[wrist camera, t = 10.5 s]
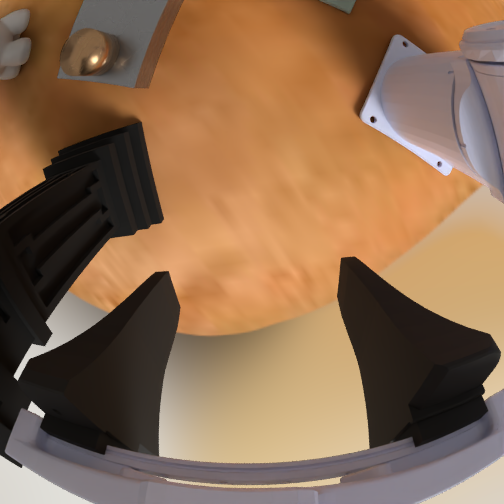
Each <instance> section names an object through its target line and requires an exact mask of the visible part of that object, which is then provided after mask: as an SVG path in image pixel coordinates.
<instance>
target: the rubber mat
mask: <svg viewBox="0 0 504 504" xmlns="http://www.w3.org/2000/svg"><path fill="white" fill-rule="evenodd" d="M319 1H322V2H324V3H326V4H329V5H331V6H333V7H335V8H338V9H340V10H342V11H344V12H346V13H348V14H349V13H350V12H351V10H352V8H353V6H354V4H355V1H356V0H319Z"/></svg>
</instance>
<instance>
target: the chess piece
mask: <svg viewBox="0 0 504 504" xmlns="http://www.w3.org/2000/svg"><path fill="white" fill-rule="evenodd" d="M58 153H59V156H57V157H55V158H53V159H51V162H52V165H50V166H48V167H46V168H44V169H43V171H44V175H45V178H46V180H45V181H43V182H42V183H40V184H38V185H36V186H35V187H33V188H32V189H30V190H28V191H27V192H25V193H24V194H22V195H21V196H19V197H17V198H16V199H14V200H13V201H11V202H10V203H9V204H7V205H6V206H4V207H3V208H1V209H0V455H1V456H3V457H4V458H6V459H7V460H9V461H10V462H12V463H14V464H15V465H17V466H19V467H20V468H22V464H21V463H19V462H18V461H16V460H15V459H13V458H12V457H10V456H9V455H8V454H6V453H5V449H6V446H7V443H8V440H9V438H10V435H11V432H12V430H13V427H14V425H15V422H16V420H17V417H18V415H19V413H20V410H21V408H24V409H26V410H28V407H29V405H30V403H31V400H30V399H29V398H28V397H27V396H26V395H25V394H24V393H23V391H22V390H21V389H20V387H19V384H18V381H17V380H16V379H15V378H14V377H13V376H14V374H15V372H16V370H17V368H18V367H19V365H20V363H21V361H22V360H23V358H24V356H25V354H26V353H27V351H28V349H29V348H30V346H31V344H36V345H41V346H45V345H46V343H47V341H48V340H49V338H50V337H51V335H52V332H51V330H50V329H49V327H48V326H47V325H46V323H45V322H46V321H47V319H48V318H49V316H50V315H51V313H52V312H53V311H54V309H55V307H56V306H57V305H58V303H59V302H60V301H61V299H62V298H63V296H64V295H65V294H66V292H67V291H68V290H69V288H70V287H71V286H72V284H73V283H74V282H75V280H76V279H77V278H78V276H79V275H80V274H81V273H82V271H83V270H84V269H85V267H86V266H87V265H88V264H89V263H90V261H91V260H92V259H93V258H94V256H95V255H96V254H97V253H98V252H99V250H100V249H101V248H102V247H103V246H104V244H105V243H106V242H107V241H108V240H109V239H110V238H115V237H122V236H129V235H134V234H135V233H136V231H137V230H142V229H148V228H149V227H150V225H152V224H159V223H162V221H163V220H164V217H163V213H162V209H161V206H160V202H159V198H158V194H157V190H156V186H155V182H154V178H153V174H152V169H151V165H150V160H149V156H148V151H147V147H146V142H145V137H144V132H143V127H142V122H140V123H136V124H133V125H129V126H126V127H123V128H120V129H116V130H113V131H110V132H107V133H104V134H101V135H98V136H95V137H93V138H90V139H87V140H85V141H82V142H79V143H77V144H74V145H72V146H69V147H67V148H64V149H62V150H60V151H58Z"/></svg>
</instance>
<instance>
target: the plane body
mask: <svg viewBox="0 0 504 504" xmlns="http://www.w3.org/2000/svg"><path fill="white" fill-rule="evenodd" d="M183 1H184V0H84V1H83V4H82V6H81V8H80V10H79V13H78V15H77V18H76V20H75V23H74V25H73V28H72V31H71V34H70V36H69V39H68V40H67V41H66V43H65V44H64V46H63V48H62V51H61V55H60V69H59V73H58V77H57V78H61V79H73V80H83V81H92V82H99V83H106V84H113V85H119V86H125V87H131V88H149V85H150V82H151V79H152V76H153V73H154V70H155V67H156V65H157V62H158V59H159V56H160V54H161V51H162V48H163V46H164V43H165V41H166V38H167V36H168V34H169V31H170V29H171V26H172V24H173V22H174V20H175V17H176V15H177V13H178V11H179V9H180V7H181V5H182V3H183Z"/></svg>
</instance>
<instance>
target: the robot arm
mask: <svg viewBox="0 0 504 504" xmlns="http://www.w3.org/2000/svg"><path fill="white" fill-rule="evenodd" d="M403 42H404V43H405V44H406V47H404V46H403ZM459 46H460V49H461V50H460V51H447V52H438V53H429V54H426V53H425V52H424V51H422V50H421V49H420V48H418V47H417V46H416V45H414V44H413V43H411V42H410V41H409V40H407V39H406V38H404V37H403V36H401V35H394V36H393V37H392V40H391V42H390V44H389V47H388V49H387V52H386V54H385V57H384V59H383V61H382V64H381V66H380V68H379V71H378V73H377V75H376V78H375V80H374V82H373V85H372V87H371V89H370V91H369V94H368V96H367V98H366V100H365V103H364V105H363V107H362V109H361V112H360V115H359V116H360V119H361V120H362V121H363V122H364V123H366V124H368V125H370V126H371V127H373V128H375V129H377V130H378V131H380V132H382V133H383V134H385V135H387V136H388V137H390V138H391V139H393V140H395V141H396V142H398V143H399V144H401V145H402V146H404V147H405V148H407V149H409V150H410V151H411V152H413V153H414V154H416V155H417V156H419V157H420V158H422V159H423V160H424V161H426V162H427V163H429V164H430V165H431V166H433V167H434V168H435V169H437V170H438V171H439V172H441V173H442V174H443V175H445V176H447V175H449V174H450V172H451V170H452V168H453V167H454V168H456V169H457V170H459V171H461V172H463V173H465V174H466V175H468V176H470V177H472V178H473V179H475V180H477V181H478V182H480V183H482V184H483V185H485V186H487V187H488V188H490V191H491V195H492V196H494V197H495V198H497V199H498V200H499V201H501V202H502V203H504V20H502V21H495V22H490V23H485V24H481V25H477V26H473V27H470V28H468V29H466V30H465V31H464V34H463V37H462V40H461V41H460V42H459ZM372 116H373V117H374V119H375V120H374V122H371V121H370V118H371V117H372ZM438 162H439V165H438V166H437V163H438ZM337 298H338V302H339V307H340V311H341V315H342V318H343V321H344V324H345V327H346V330H347V332H348V335H349V338H350V341H351V343H352V346H353V349H354V352H355V355H356V358H357V361H358V365H359V369H360V373H361V379H362V384H363V390H364V396H365V402H366V409H367V419H368V429H369V445H370V449H367V450H363V451H358V452H354V453H349V454H343V455H338V456H332V457H326V458H319V459H312V460H302V461H292V462H280V463H252V464H250V463H249V464H248V463H246V464H245V463H244V464H242V463H241V464H240V463H239V464H238V463H212V462H200V461H199V462H198V461H189V460H180V459H173V458H166V457H159V412H160V402H161V393H162V386H163V379H164V374H165V369H166V365H167V362H168V358H169V355H170V351H171V348H172V344H173V341H174V338H175V334H176V331H177V327H178V321H179V314H180V305H179V302H178V299H177V296H176V293H175V290H174V287H173V284H172V281H171V277H170V274H169V271H164V272H155V273H154V274H153V275H151V276H150V277H149V278H148V279H147V280H146V281H145V282H144V283H142V284H141V285H140V286H139V287H138V288H137V289H136V290H135V291H134V292H133V293H132V294H131V295H130V296H129V297H127V298H126V299H125V300H124V301H123V302H122V303H121V304H120V305H118V306H117V307H116V308H115V309H114V310H113V311H112V312H110V313H109V314H108V315H107V316H106V317H104V318H103V319H102V320H100V321H99V322H98V323H96V324H95V325H94V326H92V327H91V328H90V329H88V330H86V331H85V332H83V333H82V334H80V335H78V336H77V337H75V338H74V339H72V340H70V341H69V342H67V343H65V344H63V345H61V346H59V347H57V348H55V349H53V350H51V351H49V352H46V353H44V354H41V355H39V356H37V357H34V358H31V359H29V361H28V363H27V364H26V366H25V368H24V370H23V372H22V374H21V376H20V377H19V380H18V384H19V387H20V389H21V390H22V391H23V393H24V394H25V395H26V396H27V397H28V398H29V399H30V400H31V401H32V402H33V403H35V404H36V405H37V406H38V407H39V408H40V409H41V410H42V411H43V412H44V413H45V416H44V418H41V417H40V416H38V415H36V414H34V413H32V412H30V411H28V410H26V409H24V408H21V410H20V413H19V415H18V417H17V420H16V422H15V425H14V427H13V430H12V432H11V435H10V438H9V440H8V443H7V446H6V449H5V453H6V454H8V455H9V456H10V457H12V458H13V459H15V460H16V461H18V462H19V463H21V464H22V465H24V466H25V467H27V468H28V469H30V470H31V471H33V472H35V473H36V474H38V475H39V476H41V477H43V478H45V479H46V480H48V481H50V482H52V483H53V484H55V485H57V486H59V487H61V488H62V489H64V490H66V491H68V492H70V493H72V494H75V495H76V496H78V497H81V498H83V499H85V500H87V501H90V502H92V503H95V504H419V503H421V502H423V501H426V500H428V499H430V498H432V497H435V496H437V495H439V494H441V493H443V492H445V491H447V490H449V489H451V488H453V487H455V486H456V485H458V484H460V483H462V482H464V481H465V480H467V479H469V478H470V477H472V476H474V475H475V474H477V473H479V472H480V471H482V470H483V469H485V468H486V467H488V466H489V465H491V464H492V463H494V462H495V461H497V460H498V459H500V457H502V456H503V455H504V389H502V390H501V391H499V392H497V393H495V394H494V395H492V396H490V397H489V398H488V399H486V400H485V401H484V399H483V397H482V395H483V394H484V393H485V389H484V387H483V385H482V384H483V382H484V381H485V380H486V379H487V377H488V376H489V375H490V373H491V372H492V371H493V370H494V368H495V367H496V365H497V364H498V362H499V359H500V356H501V351H500V350H499V348H498V346H497V345H496V343H495V341H494V340H493V338H492V337H491V335H490V334H488V333H484V332H481V331H478V330H474V329H471V328H468V327H465V326H463V325H460V324H458V323H455V322H453V321H450V320H448V319H446V318H444V317H442V316H440V315H438V314H436V313H434V312H432V311H430V310H428V309H426V308H424V307H423V306H421V305H419V304H418V303H416V302H414V301H413V300H411V299H410V298H408V297H407V296H405V295H404V294H402V293H401V292H399V291H398V290H396V289H395V288H394V287H393V286H391V285H390V284H388V283H387V282H386V281H385V280H383V279H382V278H381V277H380V276H378V275H377V274H376V273H375V272H374V271H372V270H371V269H370V268H369V267H367V266H366V265H365V264H364V263H363V262H361V261H360V260H359V259H357V258H356V257H345V258H341V264H340V275H339V285H338V294H337ZM346 475H347V476H346ZM156 476H158V477H156ZM341 476H343V477H342V478H341V479H340V482H341V483H339V484H334V485H325V486H315V487H285V488H221V487H208V486H198V485H189V484H181V483H175V482H169V481H167V480H166V479H164V478H170V479H176V480H183V481H192V482H201V483H212V484H231V485H270V484H287V483H299V482H308V481H316V480H322V479H330V478H336V477H341ZM160 477H164V478H160Z"/></svg>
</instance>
